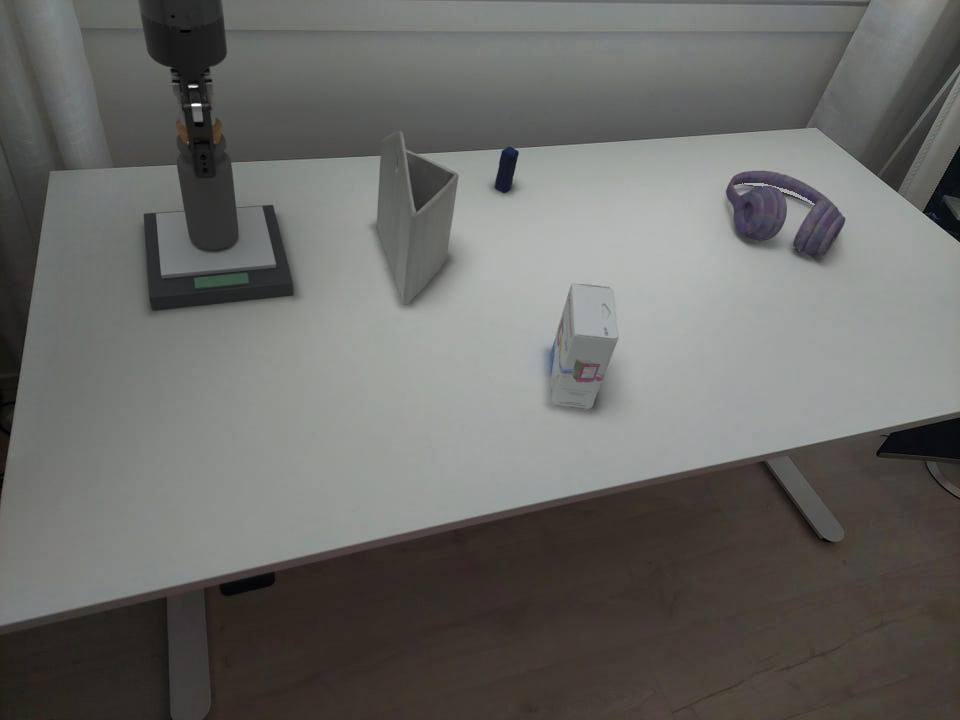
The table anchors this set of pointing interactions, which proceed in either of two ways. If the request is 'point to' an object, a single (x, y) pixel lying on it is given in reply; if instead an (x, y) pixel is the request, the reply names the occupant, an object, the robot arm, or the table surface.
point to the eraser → (506, 169)
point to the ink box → (583, 345)
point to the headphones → (783, 211)
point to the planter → (413, 214)
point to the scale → (215, 262)
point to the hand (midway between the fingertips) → (203, 160)
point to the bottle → (208, 194)
